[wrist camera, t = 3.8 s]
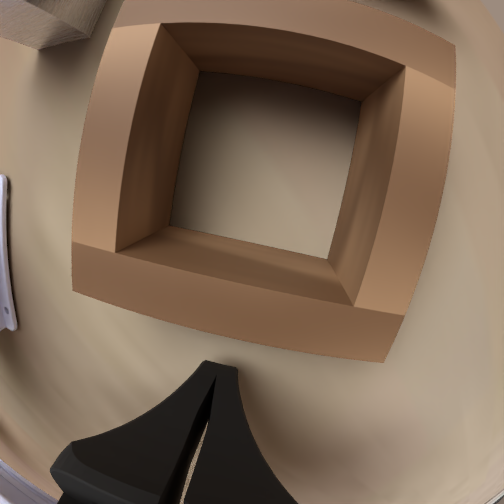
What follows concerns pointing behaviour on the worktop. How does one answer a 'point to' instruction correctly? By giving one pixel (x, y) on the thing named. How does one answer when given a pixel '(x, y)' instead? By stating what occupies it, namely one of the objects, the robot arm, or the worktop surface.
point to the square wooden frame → (245, 253)
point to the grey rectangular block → (48, 21)
